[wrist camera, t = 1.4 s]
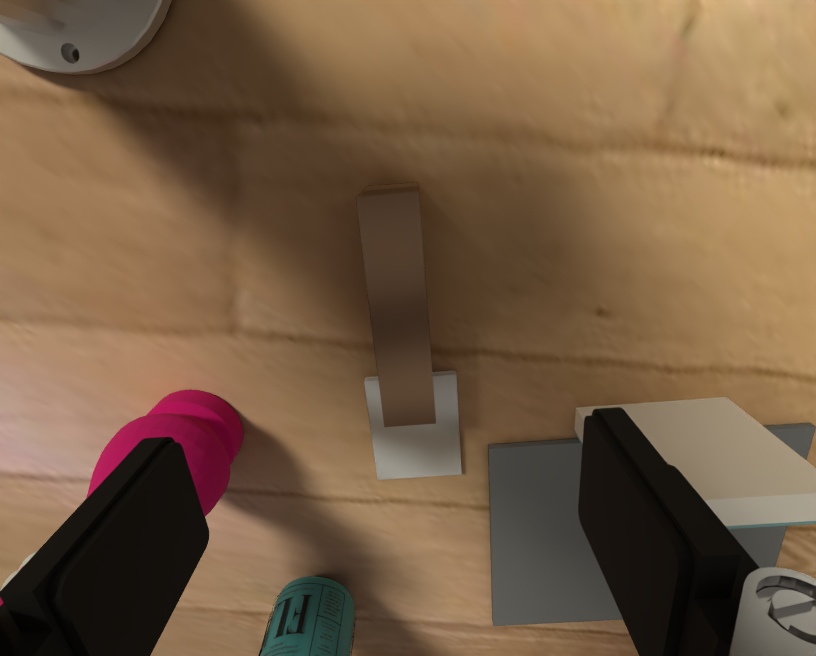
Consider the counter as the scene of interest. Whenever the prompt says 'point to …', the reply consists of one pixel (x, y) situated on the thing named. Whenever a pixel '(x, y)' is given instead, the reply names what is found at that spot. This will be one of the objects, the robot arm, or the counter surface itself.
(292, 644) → the beverage bottle
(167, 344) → the counter surface
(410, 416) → the wooden handled spatula
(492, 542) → the tile mat
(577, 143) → the counter surface
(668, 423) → the tile
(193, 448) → the pepper mill
